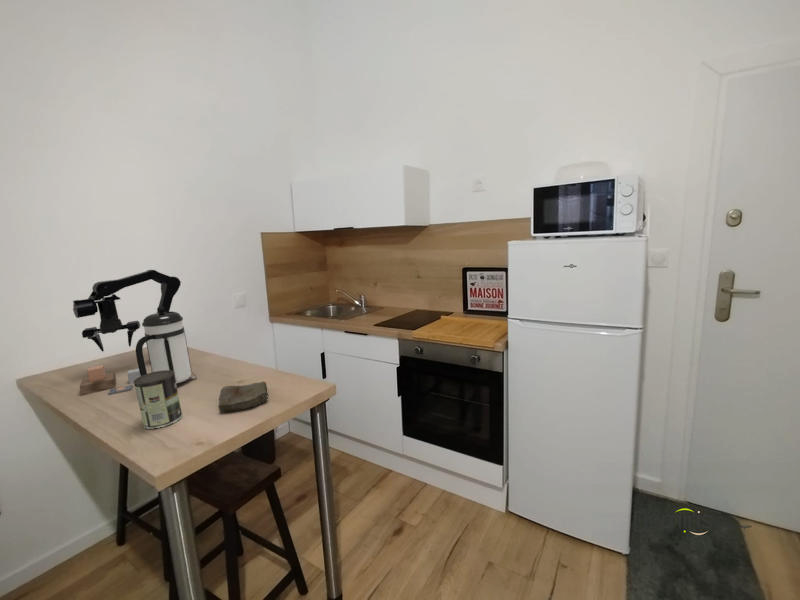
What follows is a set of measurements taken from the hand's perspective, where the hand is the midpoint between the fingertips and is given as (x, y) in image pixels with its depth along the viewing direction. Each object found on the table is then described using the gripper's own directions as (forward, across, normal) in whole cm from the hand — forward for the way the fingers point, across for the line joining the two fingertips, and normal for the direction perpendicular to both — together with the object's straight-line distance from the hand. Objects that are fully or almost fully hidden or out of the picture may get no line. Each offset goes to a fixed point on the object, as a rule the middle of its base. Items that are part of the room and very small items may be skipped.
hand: (116, 348), depth 158 cm
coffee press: (+11, +19, -31) cm, 38 cm away
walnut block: (+11, -5, -14) cm, 19 cm away
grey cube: (+11, +7, -16) cm, 20 cm away
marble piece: (+12, +41, -63) cm, 76 cm away
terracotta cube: (+7, -5, -14) cm, 17 cm away
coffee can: (+11, +18, -63) cm, 66 cm away
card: (+11, +2, -23) cm, 26 cm away
